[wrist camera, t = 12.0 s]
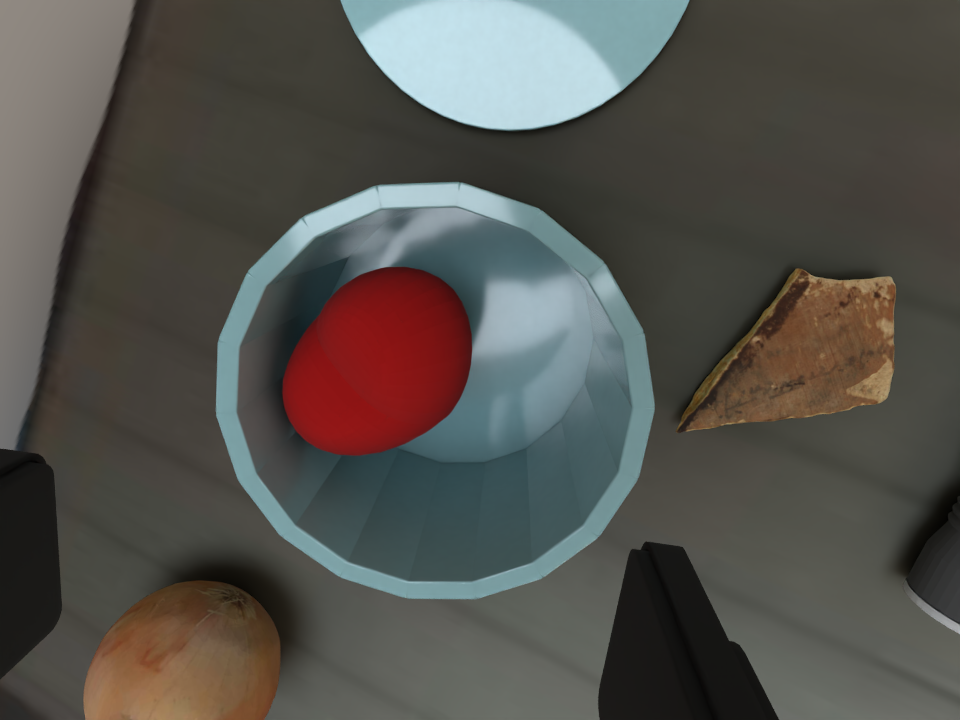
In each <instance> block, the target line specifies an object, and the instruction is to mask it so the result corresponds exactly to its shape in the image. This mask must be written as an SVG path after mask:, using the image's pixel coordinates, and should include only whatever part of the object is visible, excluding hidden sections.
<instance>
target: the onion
mask: <svg viewBox="0 0 960 720" xmlns="http://www.w3.org/2000/svg"><path fill="white" fill-rule="evenodd" d="M279 673H280V639H279V635H278V632H277V629H276V627H275V625H274V623H273V621H272V619H271V617H270V616H269V615H268V613H267V612H266V611H265V609H264V608H263V607H262V605H261V604H260V603H259V602H258V601H257V600H256V599H254V598H253V597H252V596H251V595H249V594H248V593H247V592H245V591H243V590H241V589H239V588H237V587H235V586H232V585H230V584H227V583H222V582H215V581H200V580H199V581H188V582H181V583H176V584H173V585H170V586H167V587H165V588H162V589H160V590H158V591H155V592H154V593H152V594H150V595H148V596H146V597H145V598H143V599H142V600H140V601H139V602H138V603H136V604H135V605H134V606H132V607H131V608H130V609H129V610H128V611H127V612H126V613H125V614H123V615H122V616H121V617H120V618H119V619H118V621H117V622H116V623H115V624H114V625H113V626H112V627H111V628H110V630H109V631H108V632H107V633H106V635H105V636H104V638H103V639H102V641H101V643H100V645H99V647H98V649H97V651H96V653H95V655H94V657H93V660H92V662H91V665H90V667H89V670H88V673H87V677H86V681H85V687H84V712H85V718H86V720H264V719H265V717H266V715H267V713H268V711H269V709H270V707H271V704H272V702H273V699H274V697H275V694H276V690H277V686H278V681H279Z"/></svg>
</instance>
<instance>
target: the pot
mask: <svg viewBox="0 0 960 720" xmlns="http://www.w3.org/2000/svg"><path fill="white" fill-rule="evenodd" d="M384 267H409V268H415V269H420V270H424V271H426V272H428V273H431V274H433V275H435V276H437V277H439V278H441V279H442V280H443V281H444V282H446V283H447V284H448V285H449V286H450V287H452V288H453V289H454V291H455V292H456V294H457V295H458V297H459V298H460V300H461V301H462V303H463V305H464V308H465V310H466V313H467V315H468V318H469V323H470V328H471V333H472V359H471V367H470V372H469V376H468V380H467V383H466V386H465V388H464V391H463V393H462V396H461V398H460V400H459V401H458V403H457V404H456V406H455V407H454V409H453V411H452V412H451V413H450V414H449V415H448V416H447V417H446V418H445V419H443V420H442V421H441V422H439V423H438V424H437V425H436V426H434V427H433V428H432V429H430V430H429V431H427V432H426V433H424V434H422V435H421V436H419V437H417V438H415V439H413V440H411V441H410V442H408V443H406V444H403V445H401V446H398V447H395V448H392V449H389V450H386V451H383V452H379V453H373V454H366V455H360V456H352V455H338V454H333V453H330V452H327V451H323V450H320V449H318V448H316V447H315V446H313V445H311V444H310V443H308V442H307V441H305V440H304V439H303V438H302V437H301V436H300V435H299V434H298V433H297V432H296V430H295V429H294V427H293V425H292V424H291V422H290V421H289V419H288V416H287V413H286V411H285V408H284V403H283V396H282V388H283V378H284V375H285V371H286V368H287V364H288V362H289V359H290V357H291V355H292V353H293V351H294V349H295V347H296V345H297V343H298V342H299V340H300V339H301V337H302V336H303V334H304V333H305V331H306V330H307V328H308V327H309V326H310V325H311V323H312V322H313V321H314V320H315V319H316V318H317V317H318V316H319V315H320V313H321V311H322V309H323V307H324V305H325V304H326V302H327V301H328V300H329V299H330V298H331V296H332V295H333V294H334V293H335V292H336V291H337V290H338V289H339V288H340V287H342V286H343V285H344V284H346V283H347V282H349V281H351V280H352V279H354V278H355V277H357V276H359V275H361V274H364V273H367V272H370V271H373V270H376V269H379V268H384ZM654 407H655V401H654V394H653V387H652V380H651V373H650V367H649V360H648V353H647V346H646V339H645V334H644V331H643V328H642V327H641V325H640V323H639V321H638V320H637V318H636V316H635V314H634V313H633V311H632V309H631V307H630V305H629V304H628V302H627V300H626V298H625V297H624V295H623V293H622V291H621V290H620V288H619V286H618V284H617V283H616V281H615V279H614V277H613V275H612V274H611V272H610V270H609V268H608V267H607V265H606V264H605V263H604V261H603V260H602V259H600V258H599V257H598V256H597V255H596V254H594V253H593V252H592V251H591V250H590V249H588V248H587V247H586V246H585V245H583V244H582V243H581V242H580V241H579V240H577V239H576V238H575V237H574V236H573V235H571V234H570V233H569V232H568V231H566V230H565V229H564V228H563V227H562V226H560V225H559V224H558V223H557V222H556V221H554V220H553V219H552V218H551V217H550V216H548V215H547V214H546V213H545V212H543V211H542V210H540V209H539V208H537V207H535V206H533V205H530V204H527V203H525V202H522V201H519V200H516V199H513V198H510V197H507V196H504V195H501V194H498V193H495V192H492V191H489V190H486V189H484V188H481V187H477V186H473V185H470V184H466V183H463V182H461V183H460V182H440V183H410V184H381V185H377V186H372V187H370V188H368V189H365V190H363V191H361V192H358V193H356V194H354V195H351V196H349V197H347V198H344V199H342V200H340V201H337V202H335V203H333V204H330V205H328V206H326V207H323V208H321V209H319V210H316V211H314V212H312V213H309V214H307V215H305V216H304V217H303V218H300V219H299V220H298V221H297V222H296V223H295V224H294V225H293V226H292V227H291V228H290V229H289V230H288V231H287V232H286V233H285V234H284V235H283V236H282V237H281V238H280V239H279V240H278V241H277V242H276V243H275V244H274V245H273V246H272V247H271V248H270V249H269V250H268V251H267V252H266V253H265V254H264V255H263V256H262V257H261V258H260V259H259V260H258V261H257V262H256V263H255V264H254V265H253V266H252V267H251V268H250V269H249V270H248V273H247V274H246V276H245V278H244V280H243V283H242V285H241V287H240V290H239V292H238V294H237V297H236V299H235V301H234V304H233V306H232V308H231V311H230V313H229V316H228V318H227V320H226V323H225V325H224V327H223V330H222V332H221V334H220V337H219V341H218V355H217V388H216V412H217V413H216V416H217V419H218V422H219V425H220V428H221V431H222V434H223V437H224V440H225V443H226V446H227V449H228V452H229V455H230V458H231V461H232V464H233V467H234V470H235V473H236V476H237V479H238V480H239V482H240V484H241V485H242V486H243V488H244V489H245V490H246V492H247V493H248V494H249V496H250V497H251V498H252V499H253V501H254V502H255V503H256V505H257V506H258V507H259V509H260V510H261V511H262V513H263V514H264V515H265V517H266V518H267V519H268V520H269V522H270V523H271V524H272V526H273V527H274V528H275V530H276V531H277V532H278V534H279V535H280V536H282V537H283V538H284V539H285V540H287V541H288V542H290V543H291V544H293V545H294V546H295V547H297V548H298V549H300V550H301V551H303V552H304V553H305V554H307V555H308V556H310V557H311V558H313V559H314V560H315V561H317V562H318V563H320V564H321V565H323V566H324V567H326V568H327V569H328V570H330V571H331V572H333V573H334V574H336V575H337V576H340V577H341V578H343V579H347V580H350V581H353V582H356V583H359V584H362V585H365V586H369V587H372V588H375V589H378V590H381V591H384V592H387V593H391V594H394V595H397V596H400V597H403V598H407V599H478V598H481V597H485V596H488V595H491V594H494V593H498V592H501V591H504V590H507V589H510V588H514V587H517V586H520V585H523V584H526V583H530V582H533V581H536V580H539V579H542V577H545V576H546V575H548V574H549V573H550V572H552V571H553V570H554V569H556V568H557V567H559V566H560V565H561V564H563V563H564V562H565V561H567V560H568V559H570V558H571V557H572V556H574V555H575V554H576V553H578V552H579V551H581V550H582V549H583V548H585V547H586V546H587V545H589V544H590V543H592V542H593V541H594V540H596V539H597V538H598V536H600V535H601V533H602V532H603V530H604V529H605V527H606V526H607V524H608V523H609V522H610V520H611V519H612V517H613V516H614V514H615V513H616V511H617V510H618V508H619V507H620V505H621V504H622V502H623V501H624V499H625V498H626V496H627V495H628V493H629V492H630V490H631V489H632V488H633V486H634V485H635V483H636V482H637V480H638V478H639V475H640V471H641V467H642V463H643V458H644V454H645V450H646V445H647V441H648V437H649V433H650V428H651V424H652V420H653V416H654V411H655V408H654Z"/></svg>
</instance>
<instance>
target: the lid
mask: <svg viewBox="0 0 960 720" xmlns="http://www.w3.org/2000/svg"><path fill="white" fill-rule="evenodd" d="M341 3H342V6H343V9H344V11H345V13H346V16H347V18H348V20H349V22H350V24H351V26H352V28H353V30H354V32H355V34H356V36H357V37H358V39H359V40H360V42H361V44H362V45H363V47H364V48H365V50H366V51H367V53H368V55H369V56H370V57H371V58H372V60H373V61H374V62H375V63H376V64H377V66H378V67H379V68H380V69H381V70H382V72H383V73H384V74H385V75H386V76H387V77H388V78H389V79H390V80H391V81H392V82H393V83H394V84H395V85H397V86H398V87H399V88H400V89H401V90H402V91H403V92H404V93H405V94H407V95H408V96H410V97H411V98H412V99H414V100H415V101H417V102H418V103H419V104H421V105H422V106H424V107H426V108H427V109H429V110H431V111H433V112H435V113H437V114H439V115H440V116H442V117H445V118H447V119H450V120H453V121H455V122H458V123H461V124H463V125H467V126H472V127H476V128H481V129H485V130H495V131H508V132H512V131H528V130H536V129H541V128H546V127H551V126H556V125H558V124H561V123H564V122H567V121H570V120H573V119H576V118H578V117H580V116H582V115H584V114H586V113H588V112H590V111H592V110H594V109H596V108H598V107H600V106H601V105H603V104H604V103H606V102H607V101H609V100H610V99H612V98H613V97H615V96H616V95H618V94H619V93H620V92H621V91H623V90H624V89H625V88H626V87H627V86H628V85H629V84H630V83H632V82H633V81H634V80H635V79H636V78H637V77H638V76H639V75H640V74H641V73H642V72H643V71H644V70H645V69H646V68H647V67H648V65H649V64H650V63H651V62H652V61H653V60H654V59H655V58H656V56H657V55H658V54H659V53H660V51H661V50H662V48H663V47H664V45H665V44H666V42H667V41H668V40H669V38H670V37H671V35H672V34H673V32H674V30H675V29H676V27H677V25H678V23H679V21H680V19H681V17H682V16H683V14H684V12H685V10H686V8H687V5H688V3H689V0H341Z"/></svg>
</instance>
